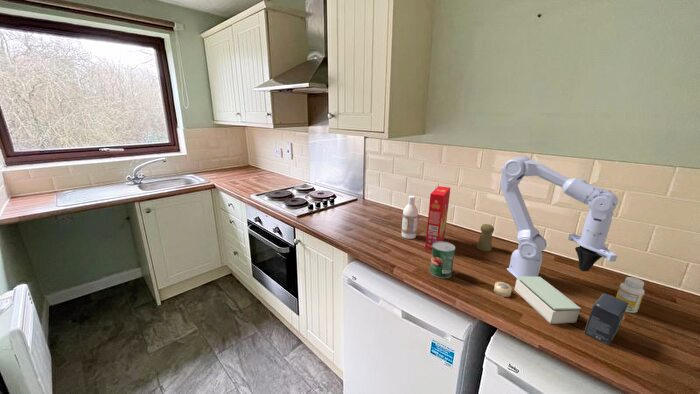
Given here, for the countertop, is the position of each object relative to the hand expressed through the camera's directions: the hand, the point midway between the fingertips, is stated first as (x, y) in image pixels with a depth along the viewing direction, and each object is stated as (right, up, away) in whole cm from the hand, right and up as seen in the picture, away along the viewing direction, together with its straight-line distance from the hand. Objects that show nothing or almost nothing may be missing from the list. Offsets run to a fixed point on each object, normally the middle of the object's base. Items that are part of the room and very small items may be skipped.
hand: (583, 270), depth 90 cm
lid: (-14, -6, -2) cm, 15 cm away
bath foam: (-46, +4, +46) cm, 65 cm away
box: (-5, -14, -12) cm, 19 cm away
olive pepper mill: (-15, 0, +35) cm, 38 cm away
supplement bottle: (+11, -11, -2) cm, 16 cm away
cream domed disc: (-23, -9, +5) cm, 25 cm away
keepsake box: (-14, -11, -1) cm, 17 cm away
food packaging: (-35, +2, +39) cm, 53 cm away
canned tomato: (-40, -5, +16) cm, 44 cm away
